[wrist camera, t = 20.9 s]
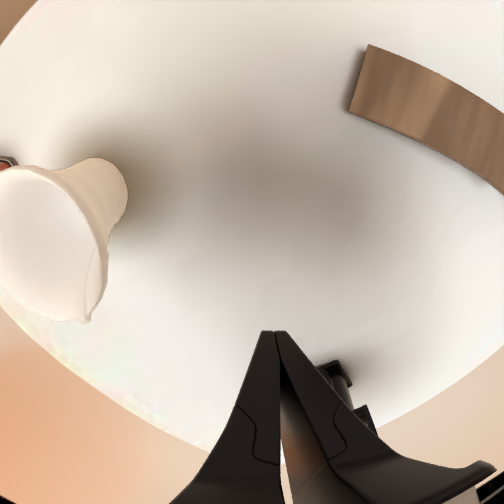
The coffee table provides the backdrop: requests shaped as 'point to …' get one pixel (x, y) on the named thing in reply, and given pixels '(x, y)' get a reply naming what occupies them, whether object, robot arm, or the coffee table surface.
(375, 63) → the tile
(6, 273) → the cup
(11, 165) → the lighter
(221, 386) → the coffee table surface
